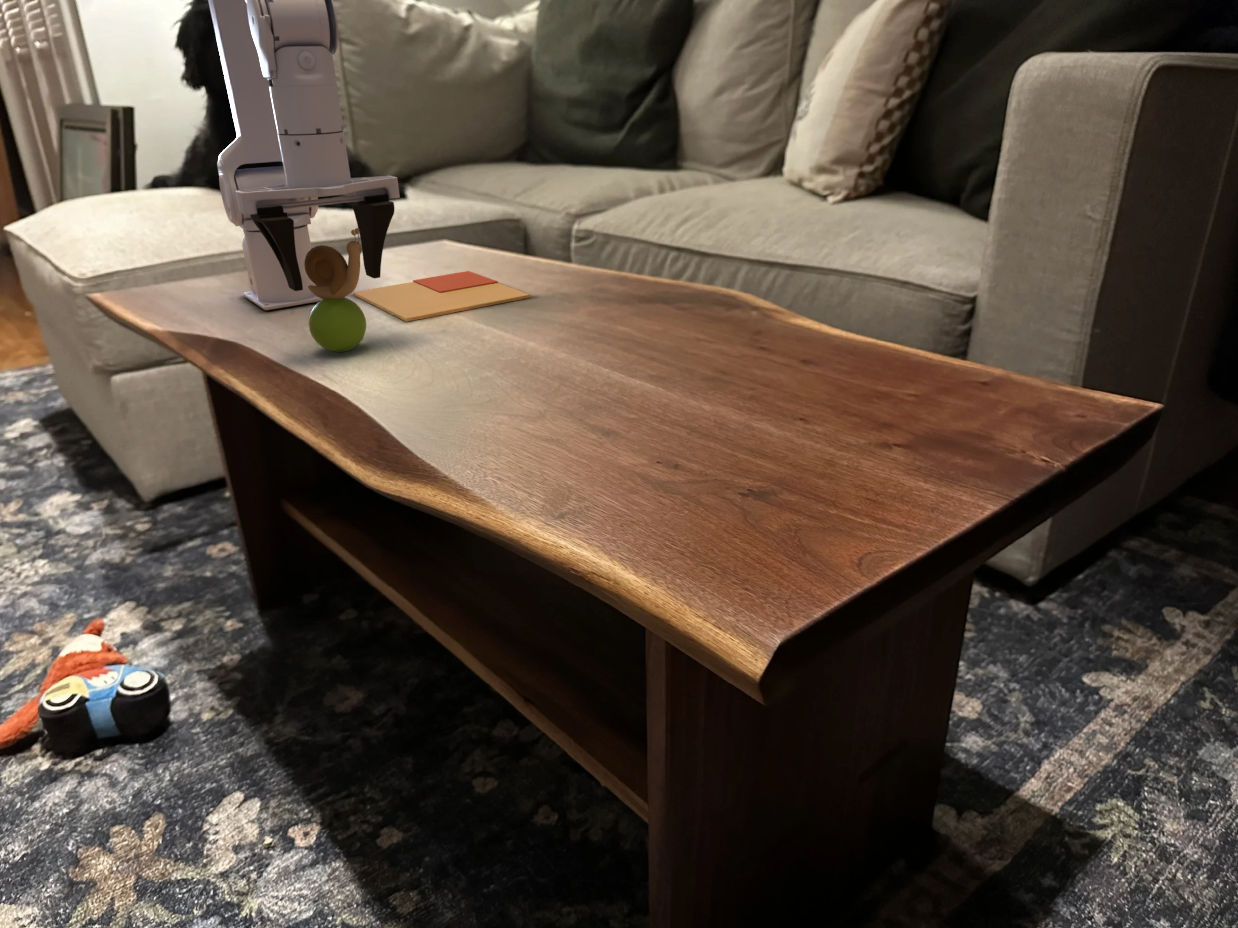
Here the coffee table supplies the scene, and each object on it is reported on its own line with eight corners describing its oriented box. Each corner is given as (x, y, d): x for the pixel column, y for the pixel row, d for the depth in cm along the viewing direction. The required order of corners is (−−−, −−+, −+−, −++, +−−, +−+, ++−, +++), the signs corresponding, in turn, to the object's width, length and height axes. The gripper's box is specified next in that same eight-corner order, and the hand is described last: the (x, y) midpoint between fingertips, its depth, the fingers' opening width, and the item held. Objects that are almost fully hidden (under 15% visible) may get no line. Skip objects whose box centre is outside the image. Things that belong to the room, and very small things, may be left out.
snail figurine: (363, 360, 84) (344, 234, 79) (303, 357, 86) (280, 233, 80) (388, 343, 89) (371, 224, 84) (330, 341, 90) (310, 223, 85)
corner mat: (353, 295, 108) (352, 290, 108) (468, 275, 117) (468, 271, 116) (406, 322, 97) (405, 316, 96) (530, 297, 105) (530, 292, 105)
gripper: (239, 141, 72) (271, 303, 78) (404, 129, 80) (422, 277, 85) (218, 137, 77) (249, 289, 83) (374, 126, 85) (393, 266, 90)
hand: (335, 282), depth 84 cm, fingers open, 7 cm apart
